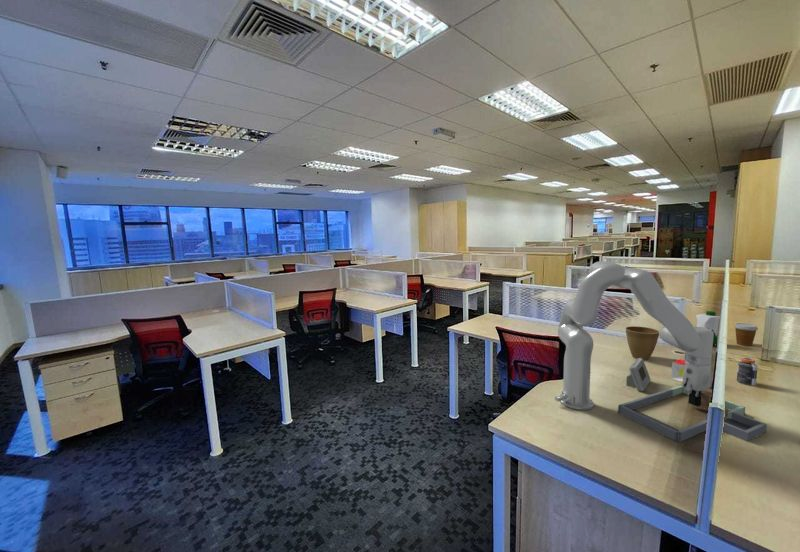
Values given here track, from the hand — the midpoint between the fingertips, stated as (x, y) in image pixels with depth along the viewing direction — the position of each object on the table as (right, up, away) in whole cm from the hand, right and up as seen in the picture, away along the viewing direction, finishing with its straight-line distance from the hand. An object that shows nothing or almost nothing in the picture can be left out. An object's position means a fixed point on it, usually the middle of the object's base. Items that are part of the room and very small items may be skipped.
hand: (694, 404), depth 124 cm
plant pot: (+19, +5, +52) cm, 55 cm away
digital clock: (-6, 0, +20) cm, 21 cm away
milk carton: (+71, +8, +69) cm, 99 cm away
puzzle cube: (+19, +1, +24) cm, 31 cm away
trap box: (-7, -3, -7) cm, 10 cm away
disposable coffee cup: (+91, +9, +66) cm, 113 cm away
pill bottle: (+41, +2, +19) cm, 45 cm away
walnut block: (+5, -1, +2) cm, 6 cm away
